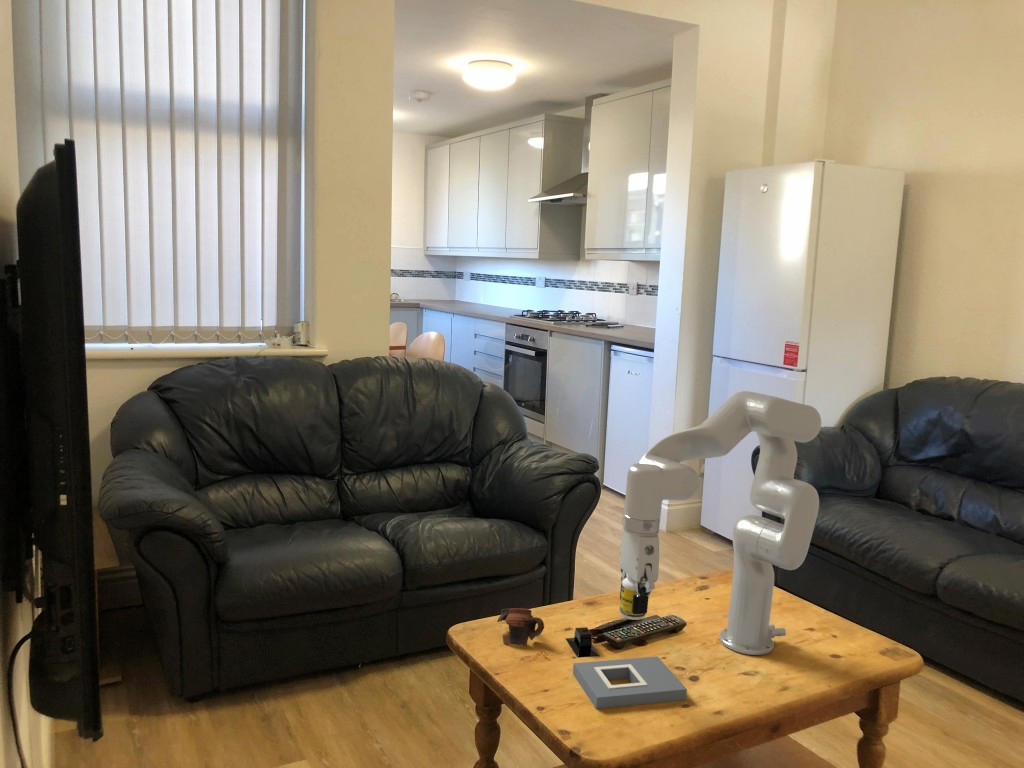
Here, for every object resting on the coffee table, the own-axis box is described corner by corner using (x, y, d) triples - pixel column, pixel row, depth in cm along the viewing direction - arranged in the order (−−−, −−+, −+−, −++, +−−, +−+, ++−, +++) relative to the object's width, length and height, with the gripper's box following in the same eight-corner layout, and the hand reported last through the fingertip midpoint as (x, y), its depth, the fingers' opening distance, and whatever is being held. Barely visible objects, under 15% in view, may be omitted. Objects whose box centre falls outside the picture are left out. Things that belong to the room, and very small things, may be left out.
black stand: (605, 661, 182) (607, 642, 181) (574, 663, 180) (576, 644, 179) (588, 636, 194) (589, 618, 193) (559, 637, 192) (560, 619, 191)
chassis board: (656, 666, 180) (657, 655, 179) (685, 699, 166) (687, 688, 166) (572, 673, 174) (573, 662, 174) (596, 708, 161) (597, 696, 161)
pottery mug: (490, 644, 186) (491, 608, 189) (507, 647, 194) (508, 612, 197) (537, 643, 182) (537, 606, 185) (553, 646, 189) (553, 610, 193)
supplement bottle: (614, 611, 169) (618, 566, 168) (636, 608, 171) (640, 564, 170) (628, 621, 164) (632, 576, 163) (650, 619, 166) (654, 574, 165)
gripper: (676, 537, 158) (667, 624, 160) (640, 510, 174) (632, 589, 177) (642, 538, 156) (633, 626, 158) (608, 511, 172) (601, 591, 175)
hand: (633, 606), depth 168 cm, fingers closed on supplement bottle, 5 cm apart
